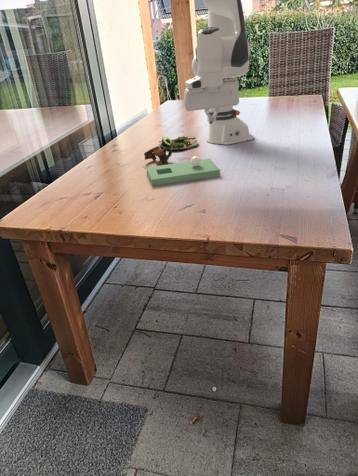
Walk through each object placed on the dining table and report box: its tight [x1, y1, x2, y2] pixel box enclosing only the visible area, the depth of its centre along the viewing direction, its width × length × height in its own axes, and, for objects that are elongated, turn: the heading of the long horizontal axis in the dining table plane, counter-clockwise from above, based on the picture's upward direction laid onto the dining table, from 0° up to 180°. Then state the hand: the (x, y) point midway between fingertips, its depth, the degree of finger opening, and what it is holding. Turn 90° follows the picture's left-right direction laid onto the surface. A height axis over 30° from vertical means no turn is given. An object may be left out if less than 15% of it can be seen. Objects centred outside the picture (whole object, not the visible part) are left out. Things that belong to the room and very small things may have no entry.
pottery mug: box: [143, 145, 173, 166], centre depth 160 cm, size 12×10×8 cm
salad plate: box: [158, 135, 199, 153], centre depth 181 cm, size 19×18×5 cm
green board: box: [146, 158, 221, 187], centre depth 146 cm, size 26×14×2 cm, turn 102°
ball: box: [190, 155, 202, 167], centre depth 145 cm, size 4×4×4 cm
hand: (211, 120), depth 138 cm, fingers closed
